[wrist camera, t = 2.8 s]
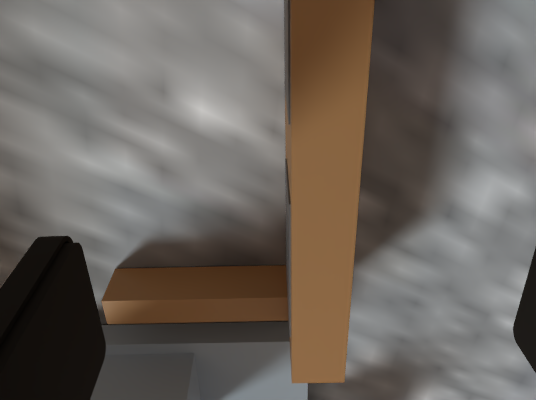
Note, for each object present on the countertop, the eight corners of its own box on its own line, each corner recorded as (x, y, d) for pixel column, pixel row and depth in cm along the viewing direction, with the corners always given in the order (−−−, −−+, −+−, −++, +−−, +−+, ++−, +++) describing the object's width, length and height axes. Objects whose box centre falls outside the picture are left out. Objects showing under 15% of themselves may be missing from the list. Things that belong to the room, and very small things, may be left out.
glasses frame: (352, -181, 13) (395, -227, 9) (329, 286, 21) (345, 382, 17) (13, -170, 13) (-112, -211, 9) (120, 290, 21) (82, 387, 17)
